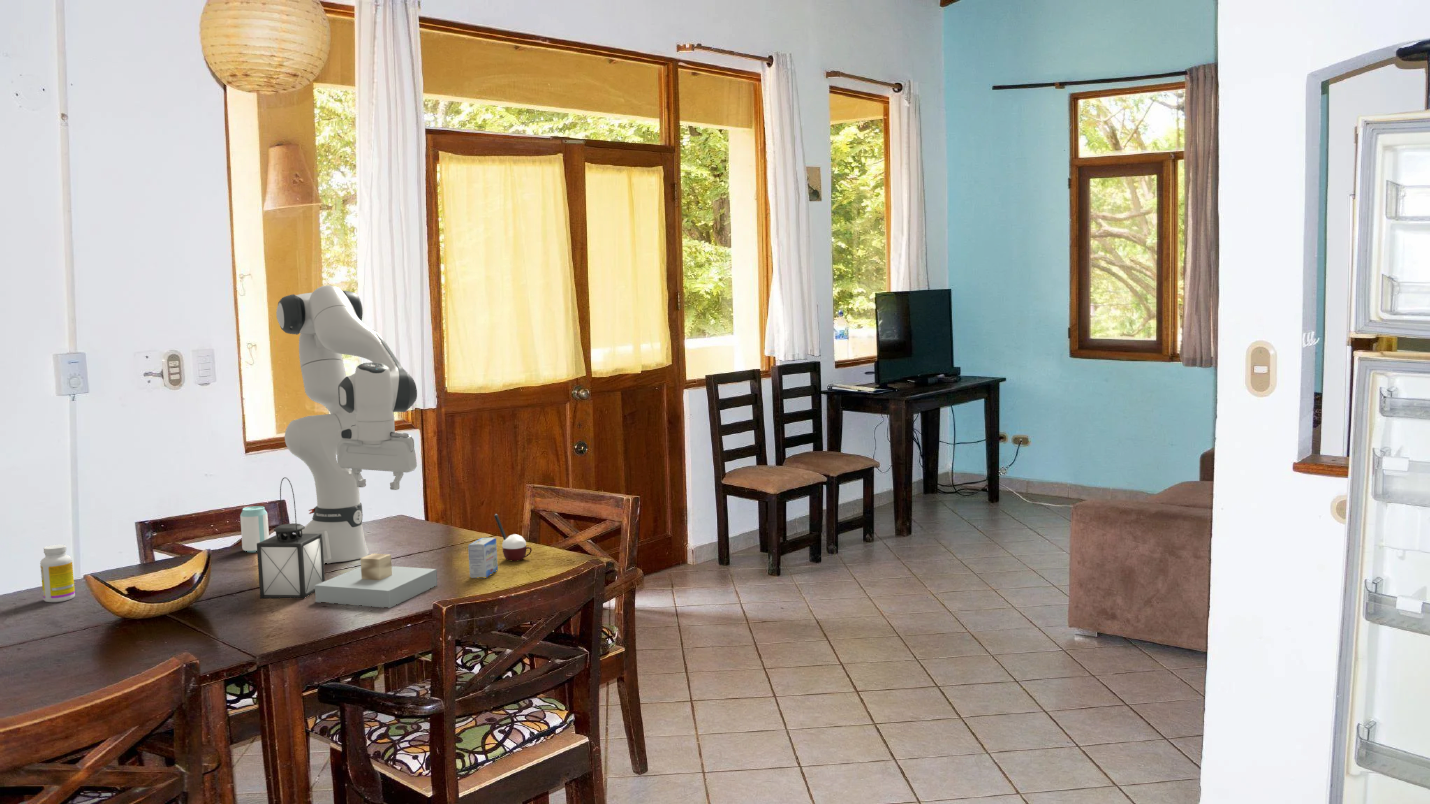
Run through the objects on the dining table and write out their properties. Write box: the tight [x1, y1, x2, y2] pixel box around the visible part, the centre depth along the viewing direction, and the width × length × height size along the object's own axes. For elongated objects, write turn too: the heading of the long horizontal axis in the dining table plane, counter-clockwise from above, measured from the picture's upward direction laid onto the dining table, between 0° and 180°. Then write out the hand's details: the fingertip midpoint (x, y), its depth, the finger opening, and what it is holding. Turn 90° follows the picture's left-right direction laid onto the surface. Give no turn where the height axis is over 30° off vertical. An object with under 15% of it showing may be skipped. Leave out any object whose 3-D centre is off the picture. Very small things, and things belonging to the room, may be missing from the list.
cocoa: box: [494, 513, 533, 562], centre depth 305 cm, size 10×6×12 cm, turn 62°
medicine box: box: [467, 537, 499, 579], centre depth 290 cm, size 8×4×9 cm, turn 169°
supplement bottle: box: [39, 544, 76, 603], centre depth 275 cm, size 7×7×13 cm
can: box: [239, 505, 270, 553], centre depth 322 cm, size 7×7×12 cm
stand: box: [314, 565, 438, 609], centre depth 275 cm, size 20×20×4 cm
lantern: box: [256, 477, 326, 599], centre depth 276 cm, size 11×11×28 cm
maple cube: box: [360, 553, 393, 580], centre depth 274 cm, size 5×5×5 cm
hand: (378, 488), depth 277 cm, fingers open, 8 cm apart
